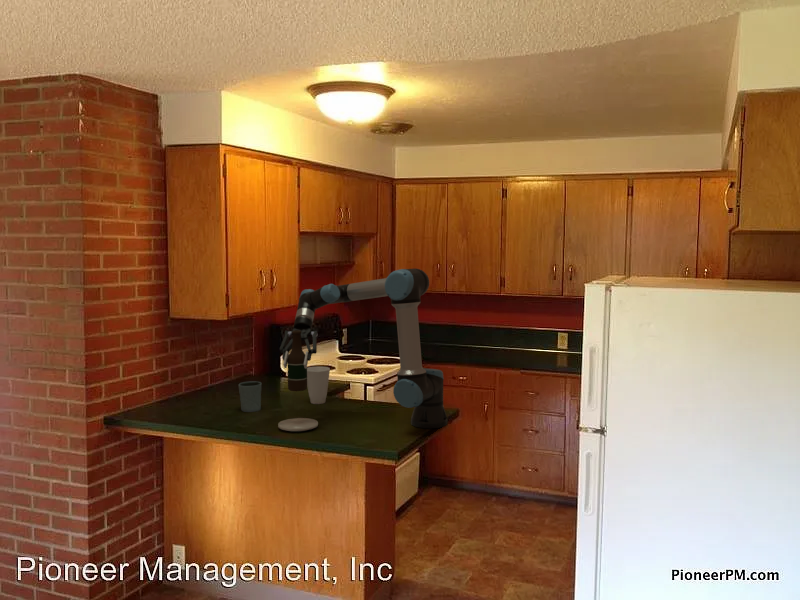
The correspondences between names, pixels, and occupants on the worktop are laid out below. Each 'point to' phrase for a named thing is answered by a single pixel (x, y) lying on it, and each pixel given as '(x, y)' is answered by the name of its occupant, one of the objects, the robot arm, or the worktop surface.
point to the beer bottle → (297, 365)
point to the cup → (317, 384)
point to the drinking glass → (250, 396)
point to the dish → (298, 424)
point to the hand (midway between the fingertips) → (294, 366)
